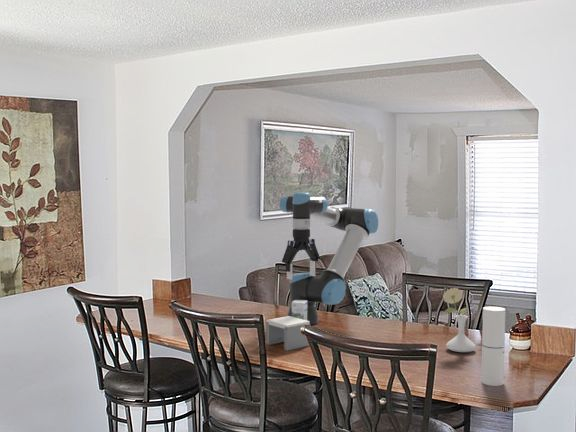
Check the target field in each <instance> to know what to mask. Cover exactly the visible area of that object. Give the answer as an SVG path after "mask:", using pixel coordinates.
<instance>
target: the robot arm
mask: <svg viewBox="0 0 576 432" xmlns="http://www.w3.org/2000/svg"><path fill="white" fill-rule="evenodd" d="M279 209H280V211H282V212H283V213H291V214H292V228H293V229H292V238H293V239H292V240H287V244H286V248H285V251H284V254H283V257H282V260H281V263H283V264H285V272H286V279H287V280H289V304H290V305H289V308H288V312H287V315H286V316H291V317H292V301H294V300H307V321H310V326H313V325H317V324H319V315H318V312H317V307H316V303H320V304H325V305H337V304H340V303H341V302H342V301H343V299H344V298H345V296H346V293H347V292H346V290H347V286H346V281H345V277H346V274H347V272H348V270H349V269H350V267H351V265H352V262H353V260H354V258H355V257H356V254H357V253H358V250H359V248H360V247H361V245H362V242H363V241H365V240H367V239H368V237H369V235H370V234H375V233H376V232H377V231H378V229H379V217H378V214H377V212H376V211H375V210H374V209H371V208H355V207H354V208H352V207H344V208H343V207H335V206H330V207H329V203H328V200H327V198H326V197H325V196H319V195H316V196H311V194H310V192H294V193H293V194H292V195H283V196H282V197H281V198H280V200H279ZM311 220H316V221H320V222H322V223H324V224H325V225H326V226H329V227H331V228H334V229H337V230H339V231H343V232H346V233H345V234H344V237H343V238H342V240H341V242H340V244H339V246H338V248H337V250H336V252H335V254H334V255H333V258H332V259H331V261H330V263H329V264H328V267H327V268H326V269H323V270H322V271H321V274H320V275H319V276H316V268H317V262H318V261H319V259H320V258H321V256H320V254H319V252H318V248H317V246H316V243H315V242H316V239H315V238H310V237H311V229H310V228H311ZM299 251H305V252H306V254H307V256H308V257H309V258H310V260H309V272H299V273H295V274H293V264H292V262H293V260H294V259H295V257H296V255H297V254H298V253H299Z"/></svg>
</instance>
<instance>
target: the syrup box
mask: <svg viewBox="0 0 576 432" xmlns="http://www.w3.org/2000/svg"><path fill="white" fill-rule="evenodd" d="M292 317H295V318H299V319H303V320H307V300H294V301H292Z"/></svg>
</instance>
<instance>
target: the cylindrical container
mask: <svg viewBox="0 0 576 432" xmlns="http://www.w3.org/2000/svg"><path fill="white" fill-rule="evenodd" d="M481 331H482V335H481V337H482V338H481V345H482V346H481V377H480V379H481V380H480V381H481V383H482V384H483V385H487V386H491V387H492V386H493V387H496V386H497V387H498V386H503V385H504V384H505V383H504V380H505V346H506V343H505V342H506V341H505V340H506V308H505V307H501V306H484V307H482V330H481Z"/></svg>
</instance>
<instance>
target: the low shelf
mask: <svg viewBox="0 0 576 432" xmlns="http://www.w3.org/2000/svg"><path fill="white" fill-rule="evenodd" d="M265 321H266V323H265V324H266V333H265V335H266V338H265V339H266V340H265V341H266V343H265V344H266V345H268V346H270V345H275V344H280V343H283V344H284V345H283V347H284V348H283V349H284V351H292V350H296V349H300V348H301V349H302V348H304V347H309V345H308V341H307V339H306V337H305V336H304V335H302V334H301V332H300V328H301V327H302V326H304V325H310V321H307V320H303V319H299V318H295V317H291V316H287V315H286V316H282V317H280V316H279V317H277V318H276V317H275V318H270V319H266V320H265ZM310 326H311V325H310Z"/></svg>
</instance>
